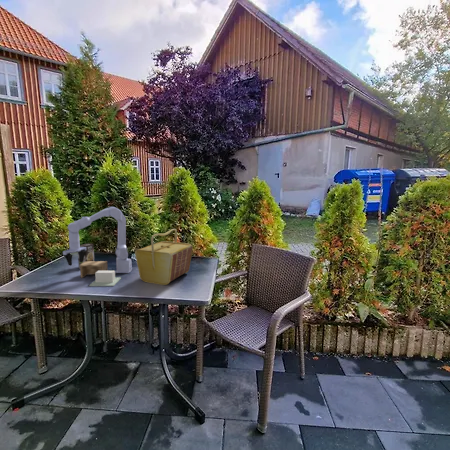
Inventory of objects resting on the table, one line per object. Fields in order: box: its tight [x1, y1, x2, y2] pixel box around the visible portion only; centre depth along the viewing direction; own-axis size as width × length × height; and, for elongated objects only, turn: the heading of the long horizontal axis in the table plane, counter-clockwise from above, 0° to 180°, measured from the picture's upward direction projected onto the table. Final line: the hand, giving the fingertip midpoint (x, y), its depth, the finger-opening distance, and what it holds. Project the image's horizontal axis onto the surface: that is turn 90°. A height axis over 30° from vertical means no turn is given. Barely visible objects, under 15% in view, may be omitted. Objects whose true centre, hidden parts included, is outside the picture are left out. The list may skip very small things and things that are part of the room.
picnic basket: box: [134, 228, 194, 286], centre depth 185 cm, size 29×26×30 cm
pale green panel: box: [88, 276, 122, 287], centre depth 177 cm, size 14×14×1 cm
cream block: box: [94, 270, 116, 283], centre depth 177 cm, size 4×10×6 cm, turn 92°
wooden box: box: [79, 260, 109, 279], centre depth 188 cm, size 14×8×8 cm, turn 92°
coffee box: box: [77, 243, 95, 269], centre depth 206 cm, size 9×6×16 cm
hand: (75, 263), depth 182 cm, fingers open, 7 cm apart
